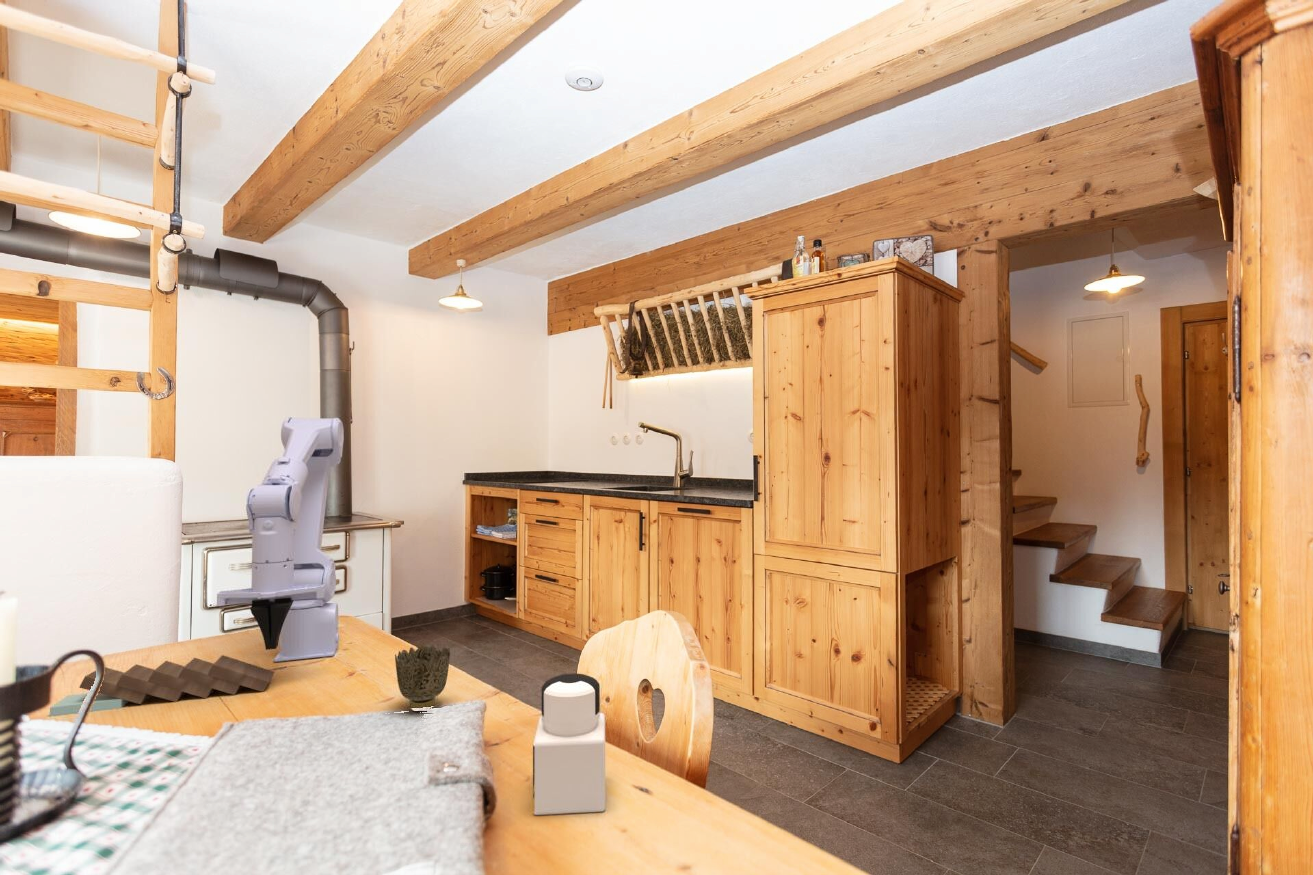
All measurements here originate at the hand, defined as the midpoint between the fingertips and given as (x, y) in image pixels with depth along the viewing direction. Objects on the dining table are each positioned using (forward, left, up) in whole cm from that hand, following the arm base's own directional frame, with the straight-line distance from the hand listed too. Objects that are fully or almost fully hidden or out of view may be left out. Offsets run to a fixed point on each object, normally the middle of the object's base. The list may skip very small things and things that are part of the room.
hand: (271, 647), depth 100 cm
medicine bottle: (-36, +50, -6) cm, 62 cm away
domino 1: (+18, 0, -6) cm, 19 cm away
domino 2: (+16, 0, -5) cm, 16 cm away
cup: (-22, +19, -6) cm, 30 cm away
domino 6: (0, 0, -5) cm, 5 cm away
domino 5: (+4, 0, -5) cm, 7 cm away
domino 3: (+11, 0, -5) cm, 12 cm away
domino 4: (+8, 0, -5) cm, 9 cm away
